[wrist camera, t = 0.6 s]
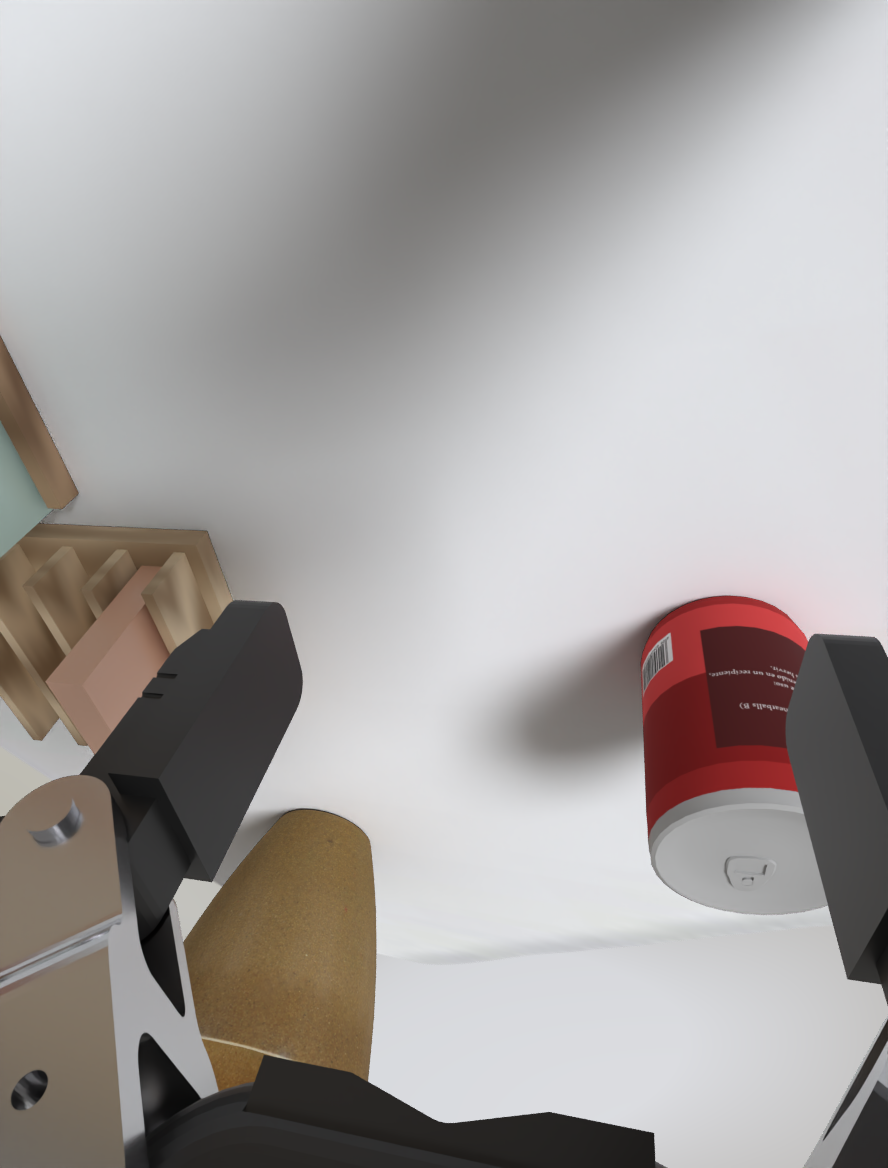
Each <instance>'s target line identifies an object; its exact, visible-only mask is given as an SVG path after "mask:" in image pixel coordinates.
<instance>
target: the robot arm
mask: <svg viewBox="0 0 888 1168" xmlns="http://www.w3.org/2000/svg"><path fill="white" fill-rule="evenodd" d="M302 685H303V678H302V670H301V666H300V663H299V659H298V655H297V652H296V648H295V645H294V641H293V638H292V634H291V631H290V627H289V623H288V620H287V616H286V613H285V610H284V608H283V607H282V605H281V604H279V603H277V602H260V601H242V600H234V601H232V602H231V603H229V604H228V605H227V607H226V608H225V609H224V611H223V612H222V613H221V615H220V616H219V618H218V619H217V620H216V622H215V623H214V625H213V626H212V627H211V629H201V630H199V631H198V632H197V633H195V634H194V635H193V636H191V637H190V638H189V639H187V640H186V641H185V642H183V643H182V644H181V645H179V646H178V647H176V648H175V649H174V650H173V652H172V653H171V654H170V656H169V657H168V658H167V660H166V661H165V662H164V664H163V665H162V666H161V668H160V669H159V670H158V672H157V677H156V678H155V677H153V678H152V680H151V681H150V682H149V684H148V685H147V686H146V688H145V689H144V690H143V692H142V697H138V698H137V700H136V701H135V702H134V704H133V705H132V706H131V707H130V709H129V710H128V711H127V713H126V714H125V715H124V717H123V718H122V719H121V721H120V722H119V723H118V725H117V726H116V727H115V729H114V730H113V731H112V733H111V734H110V735H109V737H108V738H107V739H106V741H105V742H104V743H103V745H102V746H101V747H100V749H99V750H98V751H97V753H96V754H95V755H94V757H93V758H92V759H91V761H90V762H89V763H88V765H87V766H86V767H85V769H84V770H83V771H82V772H81V773H80V775H73V776H67V777H63V778H59V779H56V780H53V781H51V782H49V783H46V784H44V785H42V786H40V787H39V788H37V789H35V790H33V791H32V792H31V793H29V794H28V795H26V796H25V797H24V798H23V799H21V800H20V801H19V802H18V803H16V805H15V806H14V807H13V808H12V809H11V810H10V811H9V812H8V813H7V815H6V816H2V817H0V1168H666V1167H664V1166H663V1165H661V1164H659V1163H657V1162H656V1161H655V1146H654V1133H651V1132H646V1131H641V1130H636V1129H631V1128H626V1127H621V1126H616V1125H611V1124H606V1123H601V1122H596V1121H591V1120H586V1119H581V1118H576V1117H572V1116H566V1115H562V1114H557V1113H552V1112H546V1113H537V1114H529V1115H520V1116H511V1117H502V1118H494V1119H485V1120H476V1121H468V1122H459V1123H443V1122H438V1121H436V1120H434V1119H432V1118H430V1117H428V1116H427V1115H425V1114H423V1113H421V1112H420V1111H418V1110H416V1109H415V1108H413V1107H411V1106H409V1105H408V1104H406V1103H404V1102H402V1101H401V1100H399V1099H397V1098H395V1097H394V1096H392V1095H390V1094H388V1093H387V1092H385V1091H383V1090H381V1089H380V1088H378V1087H376V1086H374V1085H372V1084H371V1083H369V1082H368V1081H366V1080H364V1079H362V1078H361V1077H359V1076H357V1075H355V1074H354V1073H352V1072H347V1071H343V1070H338V1069H333V1068H328V1067H323V1066H318V1065H313V1064H308V1063H303V1062H298V1061H293V1060H288V1059H283V1058H278V1057H273V1056H268V1055H264V1056H263V1059H262V1062H261V1065H260V1067H259V1070H258V1073H257V1076H256V1079H255V1082H250V1083H245V1084H241V1085H238V1086H234V1087H231V1088H227V1089H224V1090H221V1091H218V1087H217V1083H216V1079H215V1075H214V1072H213V1069H212V1065H211V1062H210V1059H209V1057H208V1054H207V1052H206V1049H205V1047H204V1044H203V1041H202V1038H201V1035H200V1032H199V1028H198V1024H197V1019H196V1014H195V1008H194V1002H193V996H192V990H191V985H190V979H189V973H188V967H187V962H186V956H185V950H184V944H183V938H182V933H181V927H180V921H179V915H178V910H177V906H176V902H175V901H174V899H173V897H174V895H175V893H176V891H177V889H178V887H179V886H180V884H181V882H182V880H183V878H188V879H195V880H201V881H208V882H212V881H213V879H214V877H215V875H216V873H217V871H218V869H219V867H220V865H221V863H222V861H223V859H224V856H225V854H226V852H227V850H228V848H229V846H230V844H231V842H232V840H233V838H234V836H235V834H236V832H237V830H238V828H239V826H240V824H241V822H242V820H243V818H244V816H245V814H246V812H247V810H248V808H249V805H250V803H251V801H252V799H253V797H254V795H255V793H256V791H257V789H258V787H259V785H260V783H261V781H262V779H263V777H264V775H265V773H266V771H267V769H268V767H269V765H270V763H271V761H272V759H273V757H274V755H275V752H276V750H277V748H278V746H279V744H280V742H281V740H282V738H283V736H284V734H285V732H286V730H287V728H288V726H289V724H290V722H291V720H292V718H293V716H294V714H295V712H296V710H297V707H298V705H299V702H300V698H301V694H302ZM786 745H787V751H788V755H789V759H790V763H791V767H792V770H793V774H794V778H795V782H796V785H797V789H798V793H799V797H800V801H801V804H802V808H803V812H804V816H805V820H806V823H807V827H808V831H809V835H810V839H811V842H812V846H813V850H814V854H815V858H816V861H817V865H818V869H819V873H820V877H821V880H822V884H823V888H824V892H825V896H826V899H827V903H828V907H829V911H830V915H831V918H832V922H833V926H834V929H835V933H836V937H837V941H838V945H839V948H840V952H841V956H842V960H843V964H844V967H845V971H846V975H847V979H850V980H856V981H863V982H870V983H877V984H882V988H883V991H884V994H885V998H886V1001H887V1004H888V657H887V655H886V653H885V651H884V649H883V647H882V645H881V643H880V642H879V640H878V639H876V638H875V637H865V636H847V635H829V634H814V635H813V636H812V637H811V638H810V640H809V642H808V644H807V647H806V651H805V654H804V657H803V660H802V664H801V667H800V670H799V674H798V677H797V680H796V683H795V687H794V690H793V693H792V697H791V700H790V703H789V707H788V711H787V716H786ZM803 1168H888V1016H887V1018H886V1019H885V1021H884V1022H883V1024H882V1026H881V1028H880V1030H879V1032H878V1034H877V1035H876V1037H875V1039H874V1041H873V1043H872V1044H871V1046H870V1048H869V1050H868V1052H867V1054H866V1056H865V1057H864V1059H863V1061H862V1063H861V1064H860V1066H859V1068H858V1070H857V1072H856V1074H855V1076H854V1077H853V1079H852V1081H851V1083H850V1085H849V1086H848V1088H847V1090H846V1092H845V1094H844V1096H843V1098H842V1099H841V1101H840V1103H839V1105H838V1107H837V1108H836V1110H835V1112H834V1114H833V1116H832V1117H831V1119H830V1121H829V1123H828V1125H827V1127H826V1129H825V1130H824V1132H823V1134H822V1136H821V1138H820V1140H819V1141H818V1143H817V1145H816V1147H815V1148H814V1150H813V1152H812V1153H811V1155H810V1157H809V1159H808V1160H807V1162H806V1164H805V1165H804V1167H803Z"/></svg>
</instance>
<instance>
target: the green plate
mask: <svg viewBox="0 0 888 1168" xmlns="http://www.w3.org/2000/svg"><path fill="white" fill-rule="evenodd" d="M52 510H53V509H50V508H47V506H46V504H45V502H44V500H43V499H42V497H41V495H40V493H39V491H38V489H37V487H36V486H35V484H34V482H33V480H32V478H31V476H30V475H29V473H28V471H27V469H26V467H25V465H24V463H23V462H22V460H21V458H20V456H19V454H18V452H17V451H16V449H15V447H14V445H13V443H12V441H11V439H10V438H9V436H8V434H7V432H6V430H5V428H4V426H3V425H2V423H1V421H0V558H1V557H2V556H3V555H4V554H5V553H6V552H7V551H8V550H10V549H11V548H12V547H13V546H14V545H15V544H16V543H17V542H18V541H19V540H20V539H22V538H23V537H24V536H25V535H26V534H27V533H28V532H29V531H30V530H31V529H32V528H34V527H35V526H36V525H37V524H38V523H39V522H40V521H41V520H42V519H43V518H44V517H46V516H47V515H48V514H49V513H50V512H51V511H52Z"/></svg>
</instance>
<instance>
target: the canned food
mask: <svg viewBox="0 0 888 1168" xmlns="http://www.w3.org/2000/svg"><path fill="white" fill-rule="evenodd" d="M807 644H808V641H807V639H806V637H805V635H804V633H803V632H802V631H801V630H800V629H799V628H798V626H797V625H796V624H795V623H794V622H793V621H792V620H791V619H790V618H789V616H788V615H787V614H785V613H784V612H782V611H781V610H779V609H778V608H776V607H775V606H773V605H770V604H768V603H766V602H763V601H760V600H756V599H752V598H748V597H738V596H720V597H711V598H706V599H701V600H697V601H694V602H692V603H689V604H686V605H684V606H682V607H680V608H678V609H676V610H675V611H673V612H671V613H669V614H668V615H667V616H666V617H665V618H663V619H662V620H661V621H660V622H659V623H658V624H657V626H656V627H655V628H654V629H653V631H652V632H651V634H650V636H649V638H648V640H647V643H646V645H645V648H644V651H643V654H642V660H641V683H642V710H643V736H644V763H645V789H646V816H647V826H648V844H649V852H650V855H651V864H652V867H653V869H654V871H655V873H656V875H657V876H658V877H659V878H660V879H661V880H662V882H663V883H664V884H665V885H667V886H668V887H669V888H671V889H672V890H673V891H675V892H676V893H678V894H680V895H681V896H683V897H685V898H687V899H689V900H691V901H694V902H697V903H699V904H702V905H705V906H708V907H712V908H716V909H719V910H723V911H729V912H736V913H742V914H755V915H783V914H791V913H799V912H805V911H809V910H814V909H818V908H822V907H825V906H828V903H827V899H826V896H825V892H824V888H823V884H822V880H821V877H820V873H819V869H818V865H817V861H816V858H815V854H814V850H813V846H812V842H811V839H810V835H809V831H808V827H807V823H806V820H805V816H804V812H803V808H802V804H801V801H800V797H799V793H798V789H797V785H796V782H795V778H794V774H793V770H792V767H791V763H790V759H789V755H788V751H787V745H786V716H787V711H788V707H789V703H790V700H791V697H792V693H793V690H794V687H795V683H796V680H797V677H798V674H799V670H800V667H801V664H802V660H803V657H804V654H805V651H806V647H807Z"/></svg>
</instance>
